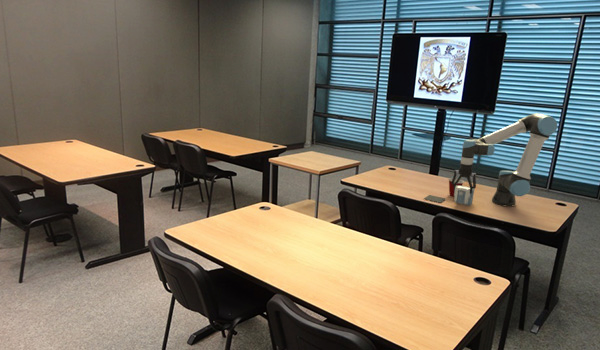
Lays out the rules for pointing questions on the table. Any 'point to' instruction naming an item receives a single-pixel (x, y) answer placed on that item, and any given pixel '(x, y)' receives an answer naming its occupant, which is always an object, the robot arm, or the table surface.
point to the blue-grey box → (462, 197)
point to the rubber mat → (435, 198)
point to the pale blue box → (458, 193)
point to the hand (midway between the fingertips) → (461, 196)
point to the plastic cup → (453, 186)
